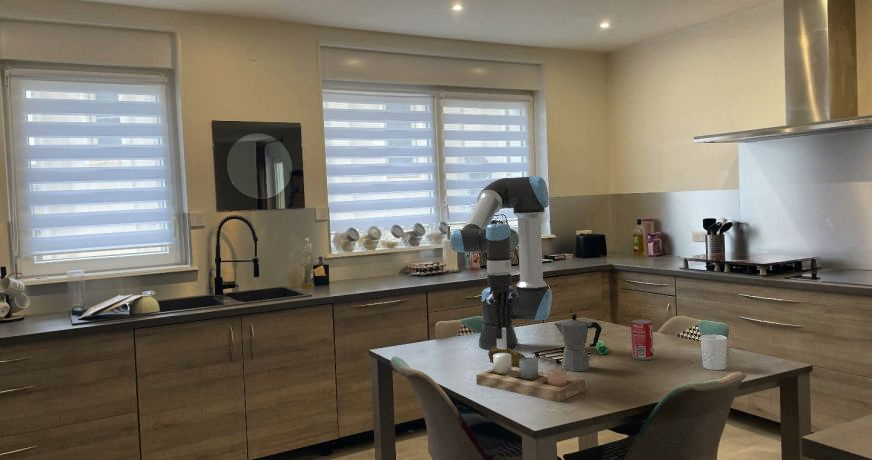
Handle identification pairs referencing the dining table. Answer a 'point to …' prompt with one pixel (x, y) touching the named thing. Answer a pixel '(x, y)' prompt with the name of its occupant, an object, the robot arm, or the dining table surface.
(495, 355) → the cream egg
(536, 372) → the slate egg
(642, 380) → the dining table surface
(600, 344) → the candy
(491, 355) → the potato
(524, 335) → the dining table surface
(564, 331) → the coffeepot
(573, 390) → the wooden egg rack
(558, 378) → the pink egg
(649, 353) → the soda can
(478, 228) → the robot arm
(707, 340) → the white cup
